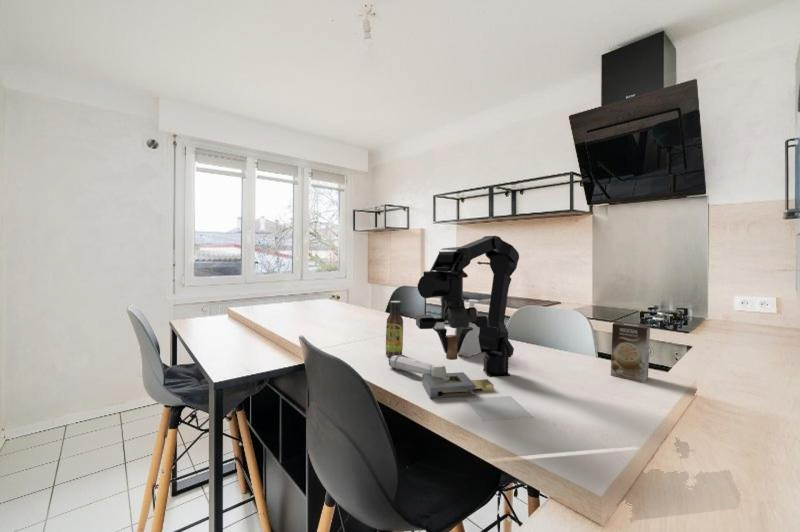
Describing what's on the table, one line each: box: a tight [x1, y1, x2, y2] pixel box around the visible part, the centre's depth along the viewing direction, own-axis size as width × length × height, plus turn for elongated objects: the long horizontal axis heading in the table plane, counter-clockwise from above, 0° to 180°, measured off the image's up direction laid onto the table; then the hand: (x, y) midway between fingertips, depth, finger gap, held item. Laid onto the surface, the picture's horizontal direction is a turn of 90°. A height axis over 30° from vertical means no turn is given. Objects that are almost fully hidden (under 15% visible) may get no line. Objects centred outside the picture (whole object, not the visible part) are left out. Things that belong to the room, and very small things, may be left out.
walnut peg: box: [445, 334, 458, 361], centre depth 96 cm, size 3×3×6 cm
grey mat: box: [465, 395, 534, 422], centre depth 86 cm, size 12×12×1 cm
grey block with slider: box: [421, 371, 494, 400], centre depth 97 cm, size 18×10×3 cm, turn 98°
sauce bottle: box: [385, 300, 404, 358], centre depth 131 cm, size 6×6×20 cm
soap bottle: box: [453, 299, 482, 358], centre depth 134 cm, size 16×5×20 cm, turn 137°
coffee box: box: [610, 320, 651, 383], centre depth 109 cm, size 9×6×16 cm
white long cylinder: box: [388, 354, 450, 383], centre depth 108 cm, size 5×7×25 cm
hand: (451, 352), depth 97 cm, fingers closed on walnut peg, 3 cm apart
